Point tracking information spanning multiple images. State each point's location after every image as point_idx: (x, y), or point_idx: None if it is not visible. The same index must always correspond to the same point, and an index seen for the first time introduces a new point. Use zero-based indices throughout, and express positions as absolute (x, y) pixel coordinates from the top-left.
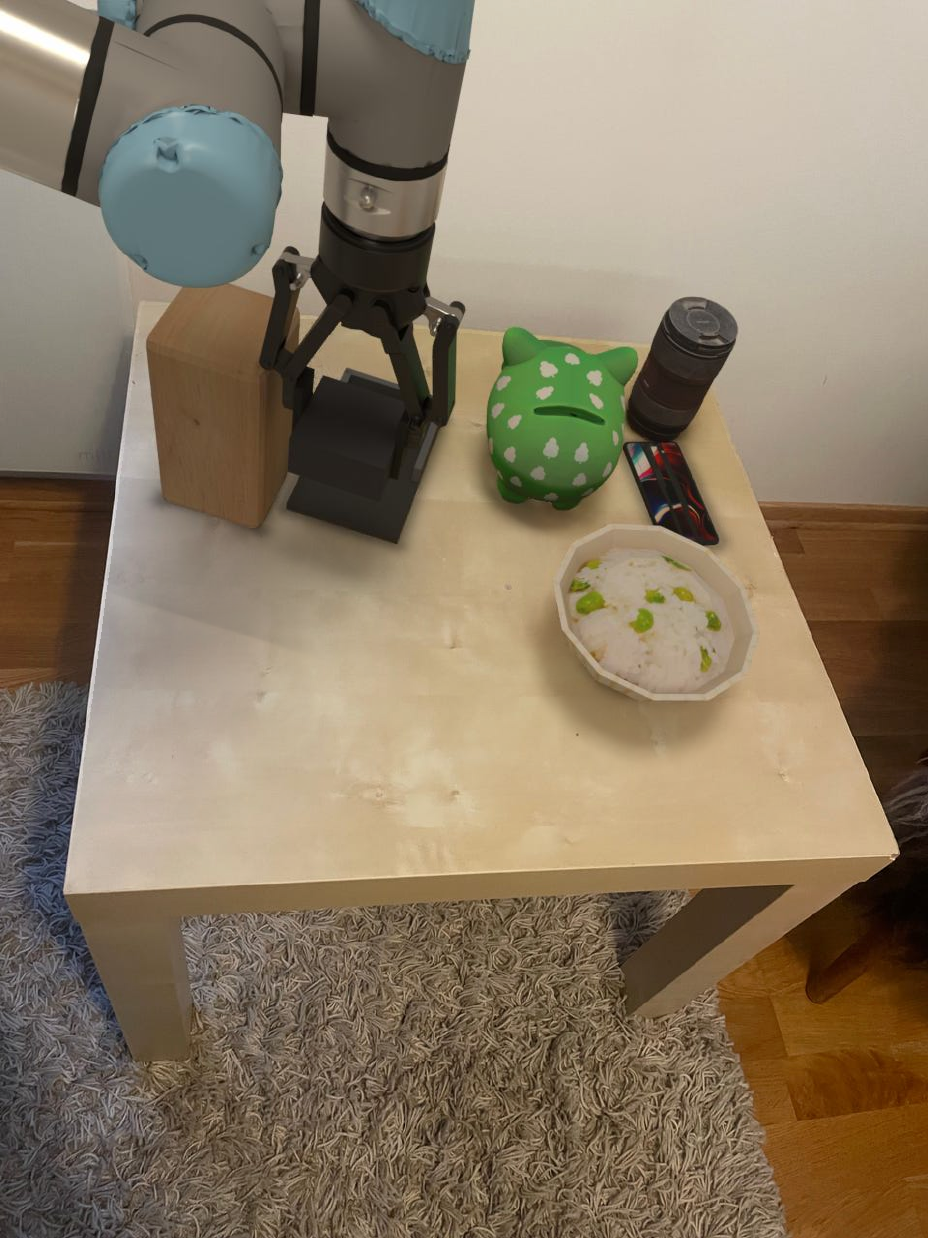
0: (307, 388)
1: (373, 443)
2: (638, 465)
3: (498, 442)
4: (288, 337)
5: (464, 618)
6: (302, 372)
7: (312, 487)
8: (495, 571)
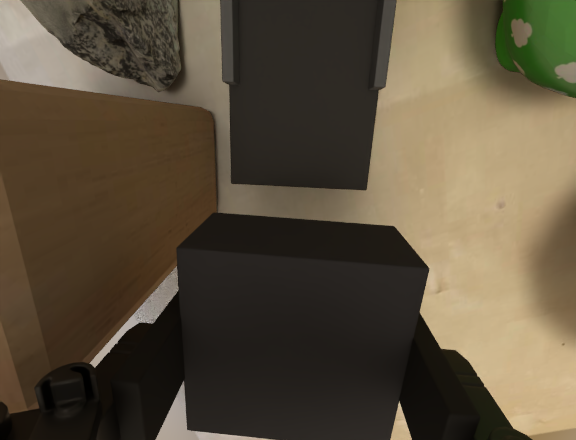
0: (156, 404)
1: (351, 405)
2: None
3: (549, 45)
4: (9, 234)
5: (449, 257)
6: (114, 410)
7: (250, 150)
8: (485, 188)
